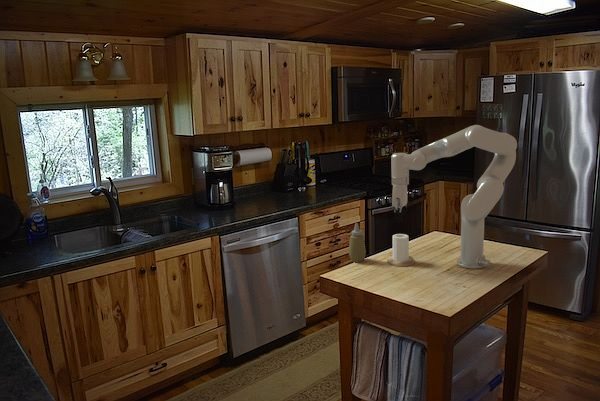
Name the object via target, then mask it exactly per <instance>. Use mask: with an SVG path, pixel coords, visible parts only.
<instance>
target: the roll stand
mask: <svg viewBox="0 0 600 401" xmlns="http://www.w3.org/2000/svg"><path fill="white" fill-rule="evenodd" d="M414 259H415V258H414V257H412V256H410V255H409V259H408V261H403V262H399V261H394V260H393V255H389V256H388V257H386V263H387V264H388V265H390V266H391V267H392V266H393V267H400V268H401V267H403V268H404V267H410V266H412V265H413V264H414V262H415V260H414Z"/></svg>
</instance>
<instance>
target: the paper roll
mask: <svg viewBox="0 0 600 401" xmlns="http://www.w3.org/2000/svg"><path fill="white" fill-rule="evenodd" d="M409 238H410V237H409V235H408V234H405V233H396V234H393V235H392V256H393V260H394V261H399V262H403V261H408V259H409V256H410V255H409V253H410V252H409V250H410V249H409V242H410V241H409V240H410V239H409Z"/></svg>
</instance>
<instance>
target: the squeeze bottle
mask: <svg viewBox="0 0 600 401" xmlns="http://www.w3.org/2000/svg"><path fill="white" fill-rule="evenodd" d="M366 251H367V250H366V244H365V236H364V235H363V231H362V230H360V226H359V223H358V222H357V223H356V222H355V224H354V229H353V230H351V235H350V236H349V245H348V254H349V257H350V261H352V262H354V263H361V262H364V260H365V257H366V255H367V252H366Z"/></svg>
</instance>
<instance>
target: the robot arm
mask: <svg viewBox="0 0 600 401" xmlns="http://www.w3.org/2000/svg"><path fill="white" fill-rule="evenodd" d="M473 147H475V148H478V149H479V150H480V149H481V150H484V151H487V152H490V153H493V155H494V156H493V159H492V161H491V162H490V164H489V165H488V167H487V168H486V170H485V171H484V172H483V174H482V175H481V176H480V178H479V179H478V180H477V183H476V188H477V189H476V190H475V192H474V193H470V194H468V195H465V196H464V198H463V199H462V200H461V205H460V213H461V214H460V215H461V216H460V218H461V226H460V227H461V229H460V258H458V259H457V260H456V264H457V265H458V266H459V267H461V268H465V269H472V270H473V269H474V270H476V269H483V268H485V267H489V266H490V264H491V260H490V259H486V255H485V254H484V245H485V244H484V243H485V242H484V240H485V218H487V216H488V215H489V214H490V212H491V211H492V210H493V209H494V207H495V205H496V204H498V202H499V200H500V199H501V197H502V195H503V194H504V191H505V190H504V189H505V188H504V184H503V183H504V182H505V180H506V179H507V177H509V174H510V173H511V171H512V170H513V168H514V167H515V164H516V161H517V160H516V159H517V153H516V152H517V150H516V149H517V148H518V142H517V139H516V138H515V137H514V136H513V135H511V134H509V133H506V132H499V131H497V130H494V129H490V128H487V127H484V126H482V125H479V124H474V125H470V126H467V127H465V128H464V129H461V130H459V131H457V132H455V133H453V134H450V135H448V136H446V137H444V138H441V139H438V140H436V141H434V142H431V143H430V144H427V145H425V146H423V147H420V148H418V149H416V150H414V151H413V152H411V154H410V153H409V154H408V153H406V152H395V153H392V155H391V156H390V158H391V161H390V162H391V185H392V195H391V196H392V197H391V198H392V200H391V201H392V202H391V203H392V204H391V206H392V207H393V209H394V211H393V212H394V214H393V215H394V216H393V217H394V221H395V222H402V220H403V217H407V215H408V205H407V204H408V185H410V170H411V171H412V170H413V171H421V170H423V169H424V168H425V167H426V166H427V164H429V163H431V162H433V161H436V160H439V159H442V158H451V157H454V156H456V155H458V154H460V153H462V152H464V151H466V150H467V151H468V150H470V149H472V148H473Z"/></svg>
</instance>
